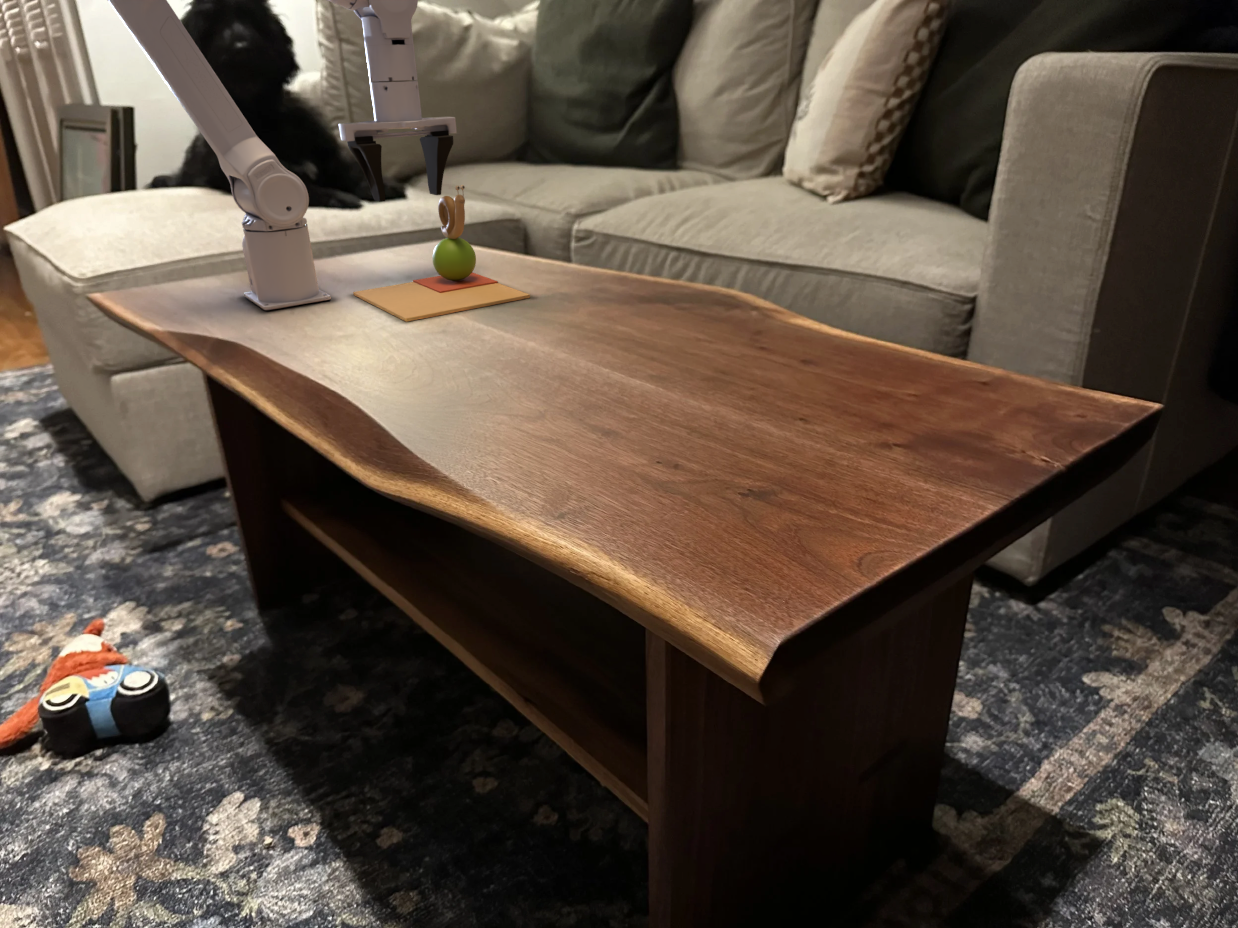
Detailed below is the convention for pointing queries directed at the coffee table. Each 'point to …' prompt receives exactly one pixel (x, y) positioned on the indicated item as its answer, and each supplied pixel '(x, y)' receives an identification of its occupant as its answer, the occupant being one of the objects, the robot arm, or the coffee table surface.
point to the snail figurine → (453, 241)
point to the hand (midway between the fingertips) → (408, 197)
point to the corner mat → (439, 296)
